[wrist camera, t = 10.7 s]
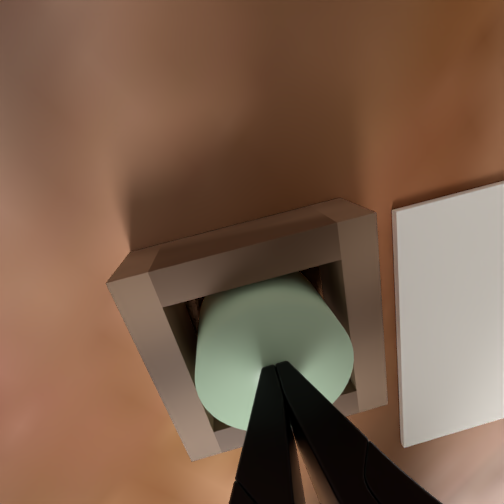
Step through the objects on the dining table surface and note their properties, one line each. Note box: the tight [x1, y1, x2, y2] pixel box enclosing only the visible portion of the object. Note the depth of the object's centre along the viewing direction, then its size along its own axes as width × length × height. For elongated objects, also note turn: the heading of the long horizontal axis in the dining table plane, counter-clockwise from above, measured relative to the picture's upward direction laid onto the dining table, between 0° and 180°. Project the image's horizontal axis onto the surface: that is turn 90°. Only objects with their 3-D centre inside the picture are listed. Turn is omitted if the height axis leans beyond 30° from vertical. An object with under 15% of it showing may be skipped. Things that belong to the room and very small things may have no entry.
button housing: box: [106, 198, 388, 461], centre depth 11 cm, size 8×8×2 cm
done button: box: [195, 271, 354, 431], centre depth 10 cm, size 5×5×3 cm
